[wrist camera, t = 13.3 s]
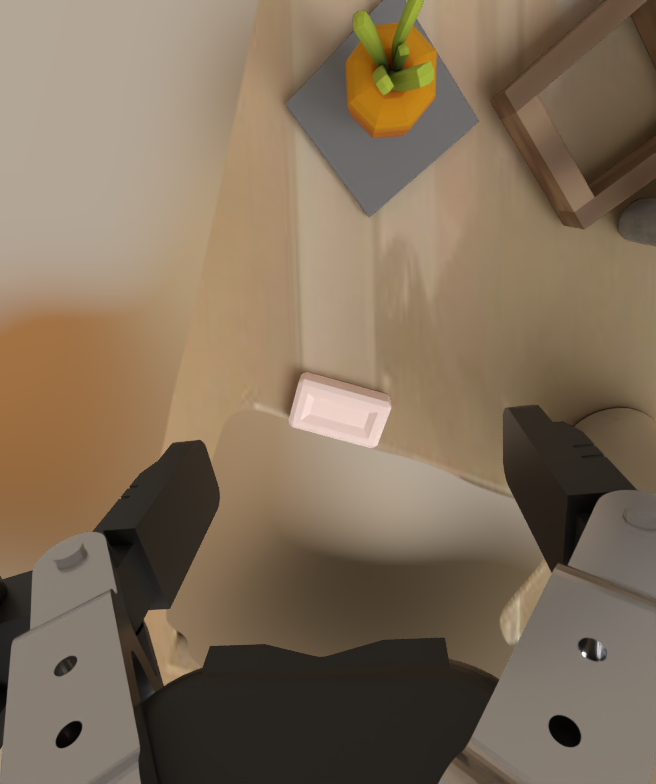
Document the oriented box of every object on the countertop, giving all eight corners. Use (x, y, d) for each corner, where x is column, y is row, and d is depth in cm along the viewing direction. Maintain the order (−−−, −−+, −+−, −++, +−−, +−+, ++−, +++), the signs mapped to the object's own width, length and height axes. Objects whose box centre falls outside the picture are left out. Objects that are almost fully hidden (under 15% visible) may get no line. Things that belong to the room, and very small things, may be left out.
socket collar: (708, 120, 31) (747, 112, 28) (564, 225, 34) (584, 229, 31) (641, -32, 28) (677, -61, 25) (490, 101, 31) (504, 91, 28)
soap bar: (302, 369, 42) (299, 379, 40) (391, 393, 42) (393, 405, 40) (290, 415, 44) (286, 427, 42) (374, 438, 45) (375, 451, 43)
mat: (476, 123, 32) (479, 121, 31) (369, 216, 35) (369, 217, 34) (395, -9, 29) (396, -15, 28) (287, 106, 32) (285, 104, 31)
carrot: (337, 95, 31) (316, 19, 17) (401, 56, 30) (433, -60, 16) (366, 165, 33) (367, 144, 19) (428, 130, 31) (476, 82, 18)
